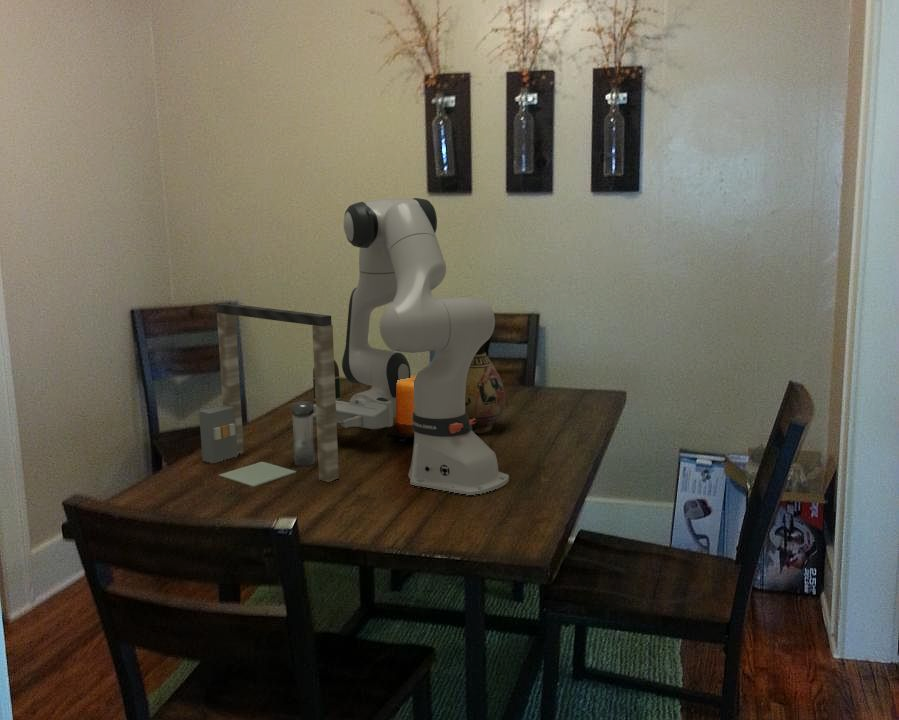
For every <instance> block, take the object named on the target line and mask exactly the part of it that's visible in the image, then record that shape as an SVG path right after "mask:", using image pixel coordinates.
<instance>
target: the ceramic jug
mask: <svg viewBox="0 0 899 720" xmlns="http://www.w3.org/2000/svg"><path fill="white" fill-rule="evenodd" d="M493 333H494V332H493ZM493 333H492V335H491V337H490V338H489V340H487V341H486V342H485V343H484V344H483V345H482V346H481V347H480V349H479V350H478V351H477V353H476V354H475V356H474V358H473V360H472V362H471V365H470V367H469V370H468V374H467V379H466V393H465V411H466V412H467V414H468V417H469V420H470V419H473V418H476V419H475V420H474V421H473V422H476V423H474V424H471V426H472V431H473V432H474V433H479V434H485V433H487V432H491V430H492V428H493V426H494V424H495V422H496V421H497V420H498V419H499V417H501V415H502V413H503V411H504V409H505V405H506V393H505V389H504V384H503V381H502V379H501V377H500V375H499V373H498V371H497V369H496V368H495V365H494V364H493V363H492V361H491V359H490V358H489V355H490V354H489V352H490V351H489V350H490V348H491V347H490V346H491V342H492V338H493Z"/></svg>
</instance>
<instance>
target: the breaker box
mask: <svg viewBox="0 0 899 720" xmlns="http://www.w3.org/2000/svg"><path fill="white" fill-rule="evenodd" d="M198 415H199V427H200V428H199V429H200V442H201V443H200V444H201V458H202V461H203V462H205V461H206V462H205V463H208V462H209V463H208V464H212V463H214V464H217V462H218V463H220V461H221V462H224V461H227V460H226V459H228V460H230V458H231V459H234V458H233V457H235V458H238V457H237V456H238V455H239V454H237V439H236V423H235V408H234V407H230V406H226V405H223V404H221V405H219V406H214V407H211V408H205V409H201V410H199V411H198ZM223 460H224V461H223Z"/></svg>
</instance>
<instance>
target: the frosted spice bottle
mask: <svg viewBox="0 0 899 720" xmlns="http://www.w3.org/2000/svg"><path fill="white" fill-rule="evenodd" d="M313 413H314V401H307V400H303V401H295V402H292V403H290V414H291V415H292V428H293V429H292V433H293V435H292V436H293V451H294V452H293V453H294V454H293V455H294V456H293V457H294V464H295V465H296V466H300V467H305V466H312V465H314V464H315V463H316V458H315V456H316V455H315V453H316V452H315V434H314V432H315V431H314V422H313Z"/></svg>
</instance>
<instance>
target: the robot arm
mask: <svg viewBox="0 0 899 720" xmlns="http://www.w3.org/2000/svg"><path fill="white" fill-rule="evenodd" d="M437 229H438V218H437V211H436V209H435V207H434V205H433V204H432V203H431V202H430V201H429V200H428V199H425V198H419V197H414V198H411V199H410V198H382V199H376V200H370V201H366V202H364V201H359V202H355V203H353V204H350V205H349V206H348V207H347V209H346V210H345V212H344V218H343V230H344V234H345V237H346V239H347V241H348V242H349V243H350V244H351V245H352V246H353V247H356V248H359V254H358V256H359V257H358V270H359V276H358V283H357V286H356V287H355V288H354V289H352V291H351V293H350V297H349V303H348V312H347V321H346V322H347V325H346V336H345V337H346V339H345V347H344V352H343V356H342V359H341V360H342V361H341V369H342V372H343V374H344V377H345V378H346V379H347V381H348V382H350V383H351V384H357V385H366V386H367V385H368V386H371V387H370V389H367V390H364V391H360V392H357V393H354V395H352V396H351V397H350V399H349V401H348V402H347V401H343V400H340V401H337V400H336V421H337V424H340V426H341V428H345V429H347V428H351V427H353V428H354V427H358V428H364V429H369V430H379V429H383V428H390V427H392V426H393V425H394V419H395V418H397V417H396V383H397V380H400V379H406V378H411V376H412V375H411V374H412V373H411V368H410V363H409V361H408V359H407V357H406V356H405V354H403V353H409V354H410V353H411V354H412V353H413V354H416V353H427V352H435V354H434V357H433V358H432V360H431V361H430V363H429V364H428V365H426V366H424V368H422V369H421V370H420V371H419V372H418V373H417V374H416V376H415V378H414V379H415V380H414V403H413V405H414V407H413V413H412V420H411V424H412V431H414V433H413V434H414V436H413V446H412V447H413V448H412V457H411V462H410V467H409V471H408V474H407V476H408V478H409V479H410V480H409V485H410V484H411V485H415V486H422V487H427V488H433V489H438V490H443V491H442V492H444V491H449V492H448V493H450V492H454V493H453V494H455V493H460V494H459V495H461V494H466V495H465V496H468V495H474V496H476V495H475V494H480V495H483V494H482V493H484V494H487V493H486V492H488V493H490V492H489V491H491V492H493V490H494V491H496V490H498V489H501V488H502V487H504V486H505V485H506V484H508V483H509V482H510V477H509V474H507V473H505V472H501V471H499V464H498V459H497V456H496V453H495V451H493V450H492V449H491V448H490V447H489V446H488V445H487V444H486V443H485V441H483V440H482V439H481V438H480V437H479V436H478V435H477V434H475V433H474V432H473V431H472V426H471V424H474V423H476V422H473V421H474V420H475V419H476V418H473V419H470V420H469V417H468V414H467V412H466V411H465V393H466V379H467V374H468V370H469V367H470V365H471V362H472V360H473V358H474V356H475V354H476V353H477V351H478V350H479V349H480V347H481V346H482V345H483V344H484V343H485V342H486V341H487V340H489V338H490V337H491V335H492V336H493V334H492V333H494V331H495V325H496V316H495V314H494V311H493V309H492V307H491V305H490V304H489V303H488V301H486V300H485V299H483V298H479V297H478V298H477V297H469V296H454V297H441V298H440V297H436V298H435V297H434V295H433V293H432V291H433V290H435V289H436V288H437V287H438V286H440V284H441V283H442V282H443V281H444V279H445V277H446V274H447V265H446V262H445V259H444V257H443V256H444V255H443V253H442V249H441V247H440V244H439V241H438V238H437V236H436V232H437ZM387 304H389V306H387V307H386V308H385V309H384V311H383V312H382V315H381V316H380V321H379V331H380V336H381V338H382V341H383V342H384V344H385V345H386V346H387V347H388V349H381V348H377V347H376V348H375V347H373V346H371V345H370V342H369V331H370V321H371V320H370V318H371V315H372V312H373V311H374V310H375V309H377V308H380V307H382V306H385V305H387ZM389 349H390V350H389ZM313 423H317V421H316V404H314V413H313ZM411 485H410V486H411ZM495 489H496V490H495ZM438 490H437V491H438Z"/></svg>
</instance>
